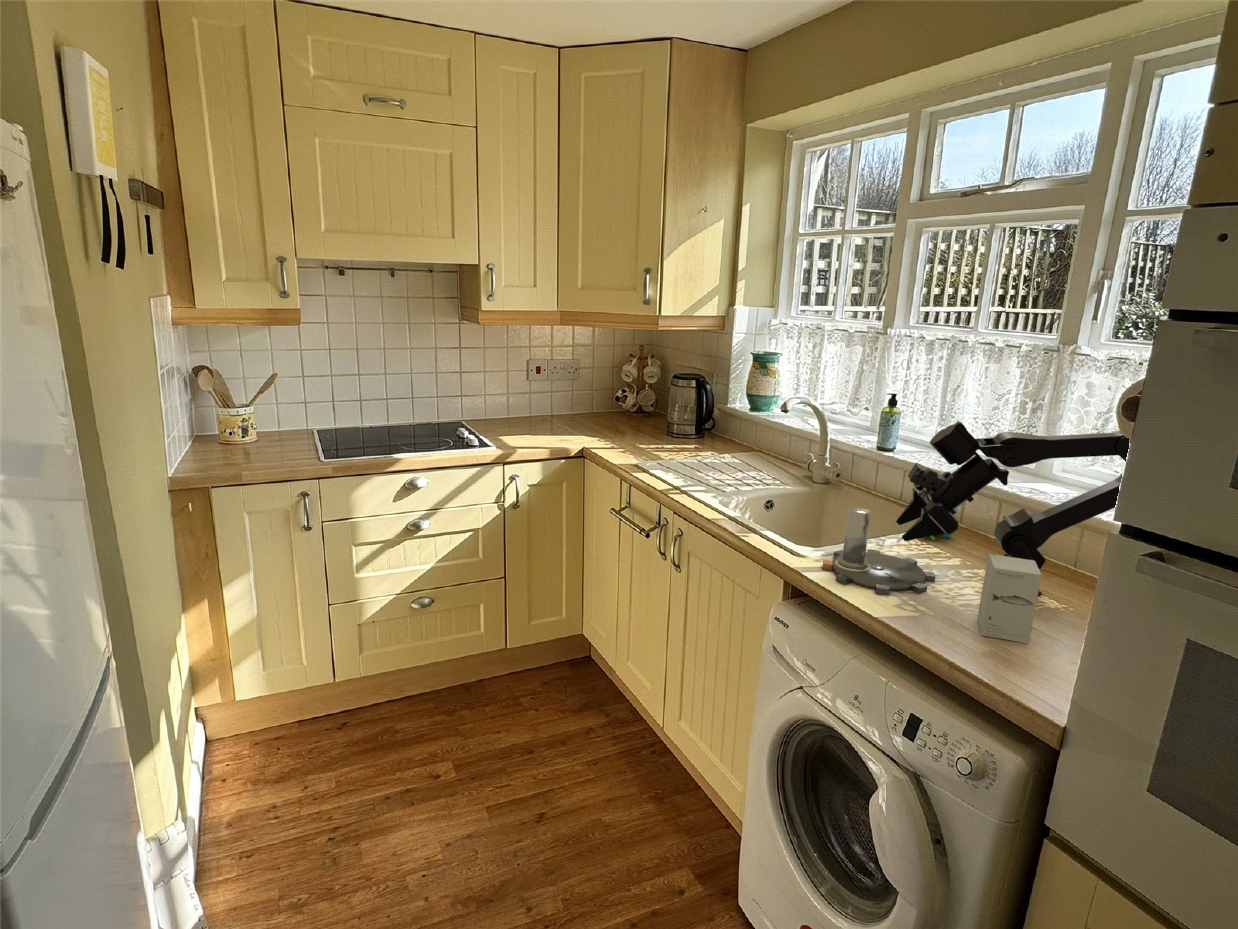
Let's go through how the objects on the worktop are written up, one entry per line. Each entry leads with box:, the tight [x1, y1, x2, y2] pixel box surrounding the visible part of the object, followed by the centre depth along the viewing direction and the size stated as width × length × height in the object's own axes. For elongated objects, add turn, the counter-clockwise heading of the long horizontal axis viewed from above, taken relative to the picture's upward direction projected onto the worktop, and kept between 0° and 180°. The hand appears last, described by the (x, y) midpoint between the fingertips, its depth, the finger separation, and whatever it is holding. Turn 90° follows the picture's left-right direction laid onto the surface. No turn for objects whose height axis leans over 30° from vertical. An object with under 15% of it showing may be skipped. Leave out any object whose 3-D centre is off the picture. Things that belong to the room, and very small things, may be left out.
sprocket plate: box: [822, 549, 936, 596], centre depth 149 cm, size 22×22×1 cm
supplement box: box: [976, 553, 1043, 645], centre depth 123 cm, size 7×7×13 cm
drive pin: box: [838, 507, 871, 570], centre depth 148 cm, size 6×6×12 cm
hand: (900, 531), depth 146 cm, fingers open, 9 cm apart
